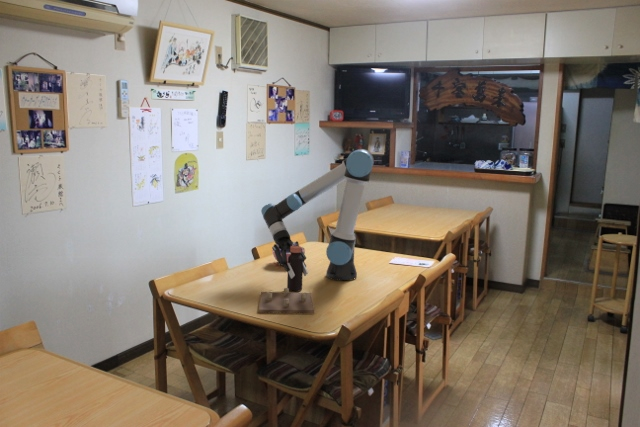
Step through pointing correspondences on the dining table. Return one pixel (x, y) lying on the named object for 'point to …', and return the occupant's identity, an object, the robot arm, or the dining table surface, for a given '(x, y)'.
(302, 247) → the cell model
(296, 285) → the vinegar
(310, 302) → the peg stand
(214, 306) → the dining table surface
